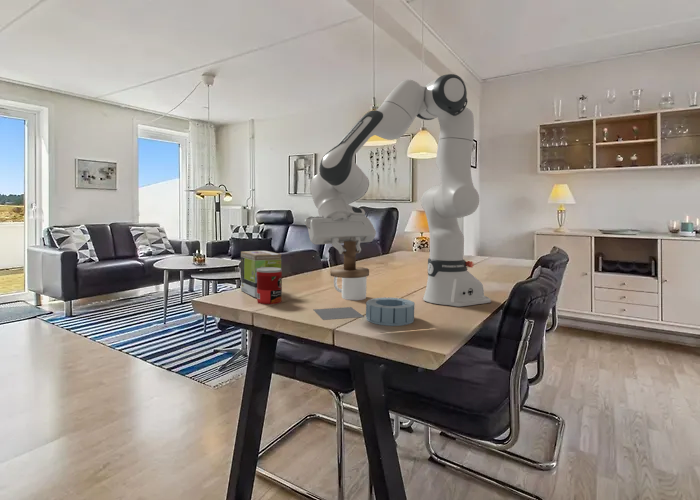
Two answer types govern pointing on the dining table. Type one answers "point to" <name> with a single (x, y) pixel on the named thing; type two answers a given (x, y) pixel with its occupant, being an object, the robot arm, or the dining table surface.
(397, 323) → the grey ridged ring
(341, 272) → the lid
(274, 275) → the canned food
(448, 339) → the dining table surface
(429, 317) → the dining table surface
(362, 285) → the cup
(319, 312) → the mat
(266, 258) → the tea box
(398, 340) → the dining table surface
